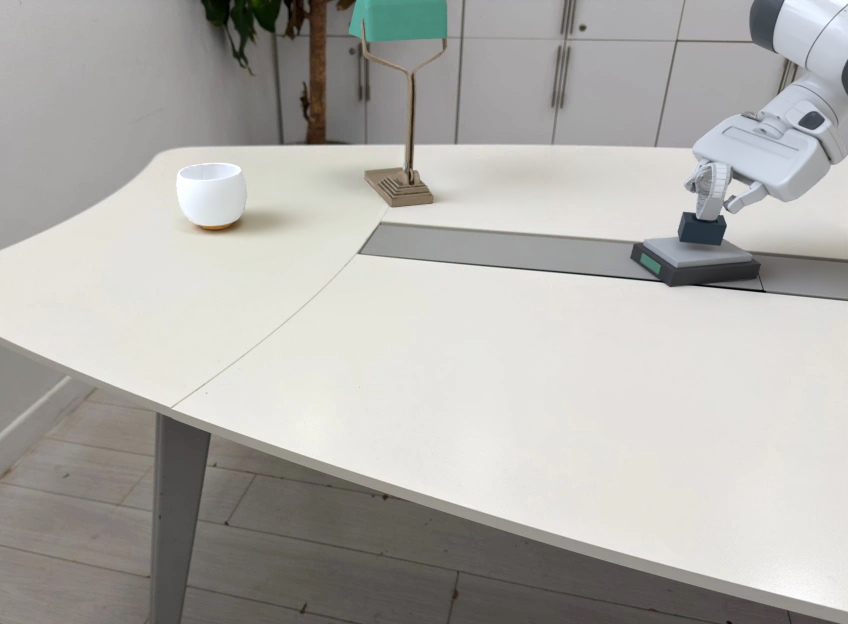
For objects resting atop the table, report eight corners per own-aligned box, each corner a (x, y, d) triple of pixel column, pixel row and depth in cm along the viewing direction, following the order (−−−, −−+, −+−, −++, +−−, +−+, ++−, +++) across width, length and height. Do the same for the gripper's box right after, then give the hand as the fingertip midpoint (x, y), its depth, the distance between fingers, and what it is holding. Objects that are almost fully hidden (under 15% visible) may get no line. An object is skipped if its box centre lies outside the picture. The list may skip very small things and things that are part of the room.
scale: (710, 250, 109) (716, 230, 107) (756, 278, 100) (764, 257, 98) (628, 257, 107) (633, 237, 105) (668, 286, 98) (674, 265, 96)
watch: (715, 230, 103) (738, 157, 97) (721, 250, 97) (746, 174, 91) (675, 226, 105) (695, 155, 99) (679, 246, 99) (701, 171, 92)
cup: (191, 241, 116) (183, 185, 111) (175, 219, 126) (167, 167, 120) (258, 229, 120) (254, 175, 115) (238, 209, 130) (233, 158, 124)
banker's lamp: (372, 208, 129) (375, -2, 109) (346, 178, 146) (344, -9, 126) (450, 201, 132) (466, -5, 112) (415, 172, 148) (423, -12, 129)
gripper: (733, 94, 100) (656, 164, 105) (840, 126, 84) (744, 208, 88) (750, 123, 103) (675, 191, 108) (857, 160, 87) (763, 238, 91)
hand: (707, 199), depth 98 cm, fingers closed on watch, 8 cm apart
